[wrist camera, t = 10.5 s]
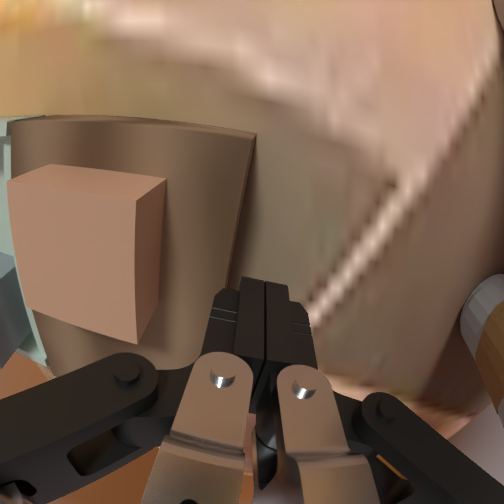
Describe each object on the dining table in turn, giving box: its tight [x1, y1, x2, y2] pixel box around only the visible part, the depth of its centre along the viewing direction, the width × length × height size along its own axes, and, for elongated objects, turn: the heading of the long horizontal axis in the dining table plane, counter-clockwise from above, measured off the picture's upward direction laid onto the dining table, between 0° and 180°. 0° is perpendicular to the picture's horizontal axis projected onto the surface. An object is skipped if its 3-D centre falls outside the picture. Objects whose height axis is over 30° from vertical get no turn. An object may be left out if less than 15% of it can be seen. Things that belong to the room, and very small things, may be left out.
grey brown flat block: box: [11, 115, 256, 377], centre depth 16 cm, size 12×18×4 cm, turn 169°
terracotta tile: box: [7, 164, 167, 345], centre depth 11 cm, size 6×6×3 cm
